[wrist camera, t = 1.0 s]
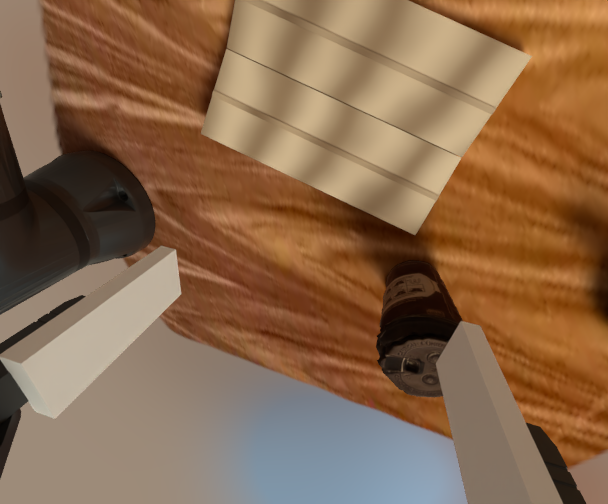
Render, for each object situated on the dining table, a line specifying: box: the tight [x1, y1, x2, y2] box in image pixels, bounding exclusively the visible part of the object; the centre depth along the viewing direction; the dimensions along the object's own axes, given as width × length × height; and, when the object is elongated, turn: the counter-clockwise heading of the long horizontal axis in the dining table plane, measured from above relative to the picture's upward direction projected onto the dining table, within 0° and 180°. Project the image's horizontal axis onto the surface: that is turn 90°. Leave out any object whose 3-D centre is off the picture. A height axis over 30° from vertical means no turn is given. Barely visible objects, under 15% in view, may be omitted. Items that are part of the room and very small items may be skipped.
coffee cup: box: [376, 261, 463, 397], centre depth 28 cm, size 9×8×13 cm
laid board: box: [227, 0, 532, 157], centre depth 23 cm, size 24×8×1 cm, turn 68°
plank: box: [201, 49, 461, 235], centre depth 27 cm, size 24×8×1 cm, turn 68°
